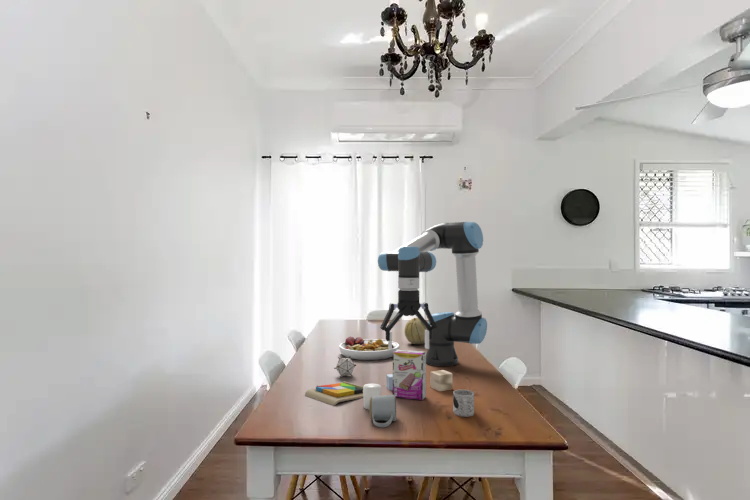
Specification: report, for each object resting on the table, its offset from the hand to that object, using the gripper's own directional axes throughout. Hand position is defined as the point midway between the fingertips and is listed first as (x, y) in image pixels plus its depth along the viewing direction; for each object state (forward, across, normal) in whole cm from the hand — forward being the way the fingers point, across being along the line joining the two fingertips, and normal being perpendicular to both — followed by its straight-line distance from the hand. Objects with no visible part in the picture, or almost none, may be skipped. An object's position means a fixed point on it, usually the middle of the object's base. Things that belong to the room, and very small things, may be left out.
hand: (408, 349), depth 170 cm
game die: (+17, -18, +33) cm, 42 cm away
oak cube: (+17, +15, +8) cm, 24 cm away
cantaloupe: (+16, +31, +89) cm, 96 cm away
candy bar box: (+17, 0, 0) cm, 17 cm away
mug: (+18, +12, -21) cm, 30 cm away
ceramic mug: (+18, -14, -20) cm, 31 cm away
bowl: (+17, 0, +71) cm, 73 cm away
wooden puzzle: (+18, -24, +9) cm, 31 cm away
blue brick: (+17, -1, +12) cm, 21 cm away
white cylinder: (+17, -15, -7) cm, 24 cm away
